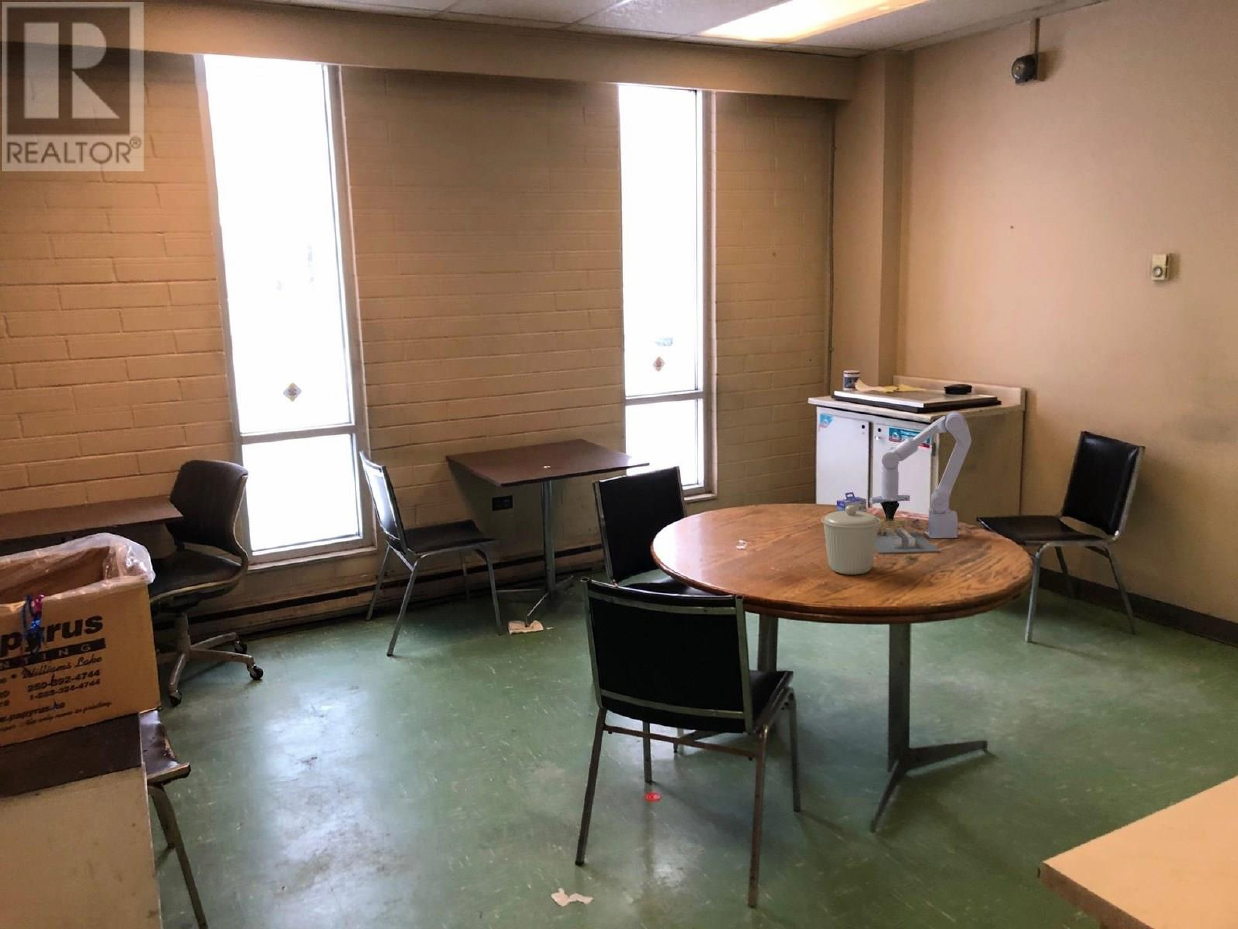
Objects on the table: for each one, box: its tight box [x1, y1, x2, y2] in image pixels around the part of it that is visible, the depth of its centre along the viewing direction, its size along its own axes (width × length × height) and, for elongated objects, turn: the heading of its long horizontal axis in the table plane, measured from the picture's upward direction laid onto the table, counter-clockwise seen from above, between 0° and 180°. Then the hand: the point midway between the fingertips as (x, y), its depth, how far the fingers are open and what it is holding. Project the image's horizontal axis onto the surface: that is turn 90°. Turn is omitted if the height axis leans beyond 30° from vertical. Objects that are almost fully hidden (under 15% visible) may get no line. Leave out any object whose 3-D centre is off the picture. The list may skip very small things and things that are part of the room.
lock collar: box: [878, 518, 906, 535], centre depth 346 cm, size 8×3×5 cm, turn 89°
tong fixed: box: [897, 526, 915, 548], centre depth 336 cm, size 2×16×3 cm, turn 179°
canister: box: [821, 505, 881, 575], centre depth 306 cm, size 18×18×21 cm
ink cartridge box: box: [836, 491, 867, 513], centre depth 352 cm, size 10×6×14 cm, turn 115°
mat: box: [875, 530, 941, 555], centre depth 337 cm, size 20×26×1 cm
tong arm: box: [885, 526, 902, 548], centre depth 336 cm, size 2×16×3 cm, turn 177°
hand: (889, 521), depth 349 cm, fingers closed
